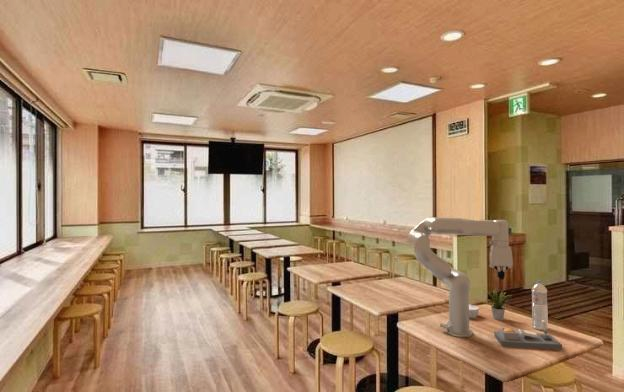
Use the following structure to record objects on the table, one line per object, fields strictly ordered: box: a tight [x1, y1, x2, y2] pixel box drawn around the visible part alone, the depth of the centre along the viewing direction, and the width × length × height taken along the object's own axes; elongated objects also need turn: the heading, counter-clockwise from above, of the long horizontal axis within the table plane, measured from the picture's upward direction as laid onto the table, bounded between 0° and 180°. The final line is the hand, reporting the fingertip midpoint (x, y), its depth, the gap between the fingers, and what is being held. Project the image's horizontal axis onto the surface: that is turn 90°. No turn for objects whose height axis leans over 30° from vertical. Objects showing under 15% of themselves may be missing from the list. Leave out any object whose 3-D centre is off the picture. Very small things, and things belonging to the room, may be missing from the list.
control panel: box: [493, 327, 563, 351], centre depth 167 cm, size 25×12×6 cm, turn 78°
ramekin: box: [469, 303, 480, 319], centre depth 205 cm, size 11×11×5 cm
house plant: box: [485, 289, 511, 321], centre depth 198 cm, size 14×14×16 cm
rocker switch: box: [517, 328, 538, 338], centre depth 167 cm, size 7×4×1 cm, turn 78°
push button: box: [504, 327, 514, 333], centre depth 169 cm, size 4×4×3 cm
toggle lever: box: [541, 320, 549, 336], centre depth 165 cm, size 2×2×8 cm
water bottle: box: [531, 280, 549, 331], centre depth 184 cm, size 7×7×25 cm
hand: (501, 278), depth 182 cm, fingers closed
